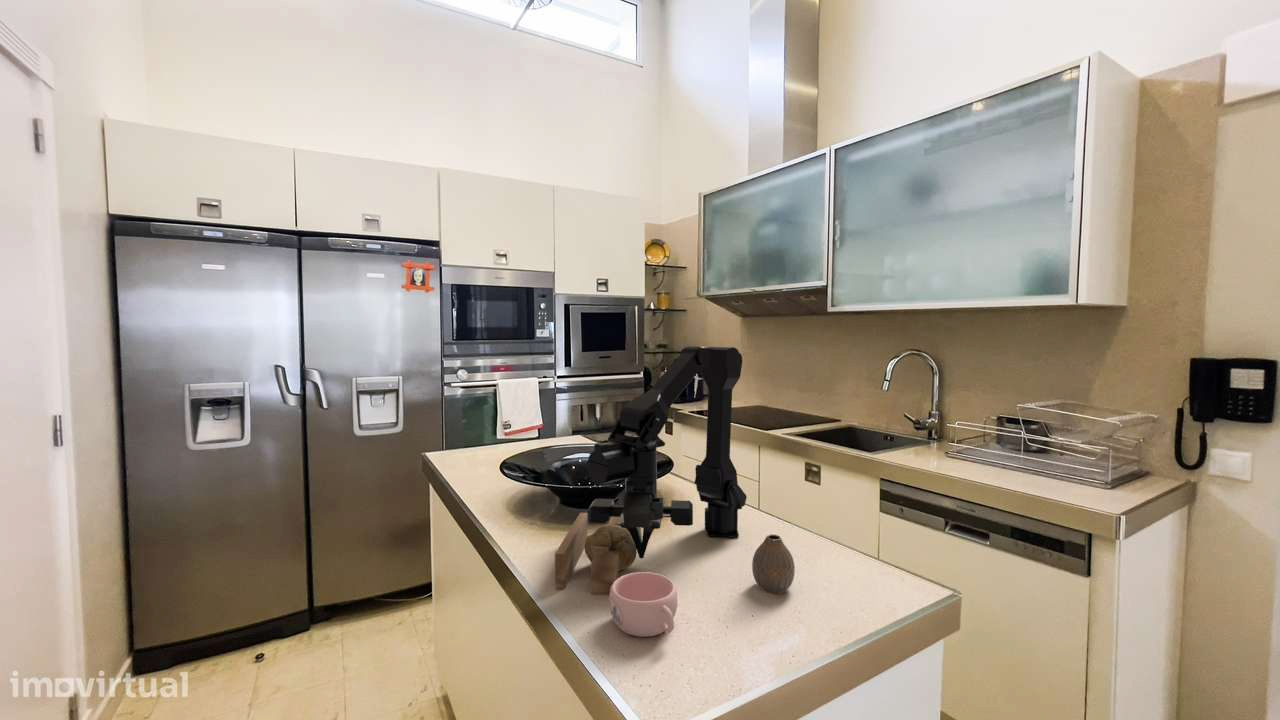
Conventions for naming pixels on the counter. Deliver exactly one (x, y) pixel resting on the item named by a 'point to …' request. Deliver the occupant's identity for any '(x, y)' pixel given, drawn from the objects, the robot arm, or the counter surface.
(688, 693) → the counter surface
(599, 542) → the fossil
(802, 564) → the counter surface
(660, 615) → the mug
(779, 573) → the vase
